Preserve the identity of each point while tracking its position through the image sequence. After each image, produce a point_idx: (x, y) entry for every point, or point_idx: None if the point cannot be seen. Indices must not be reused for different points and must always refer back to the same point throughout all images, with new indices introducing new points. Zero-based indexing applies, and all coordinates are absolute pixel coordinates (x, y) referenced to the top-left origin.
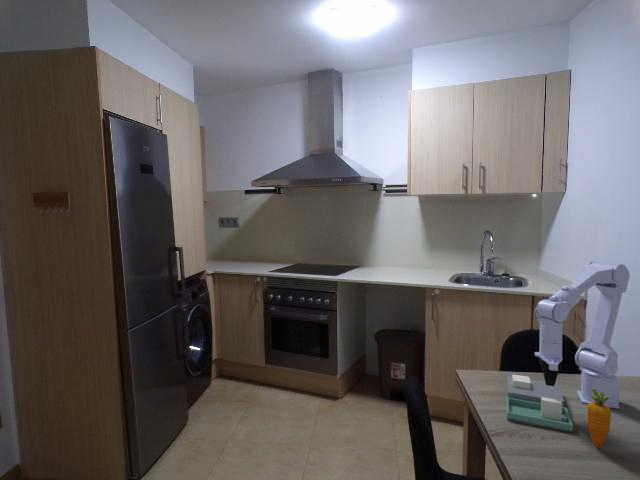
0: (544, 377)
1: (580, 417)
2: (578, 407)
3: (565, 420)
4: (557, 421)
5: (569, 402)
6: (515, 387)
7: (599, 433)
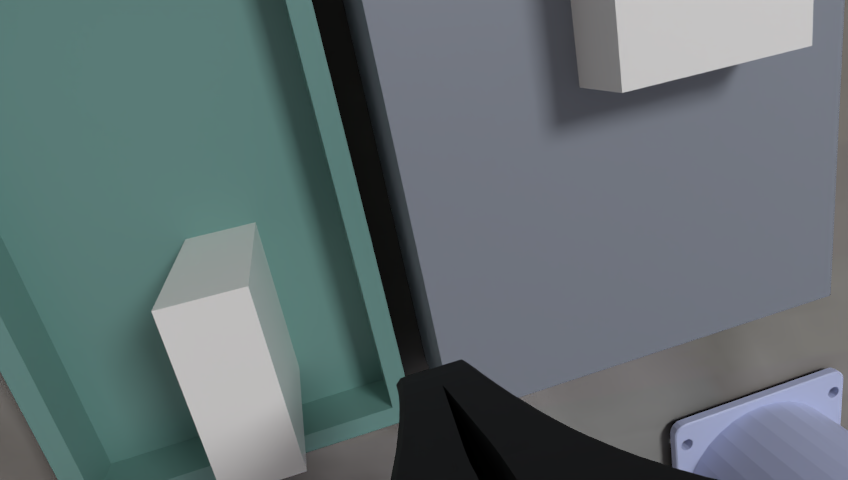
0: (415, 436)
1: None
2: (585, 415)
3: None
4: (45, 419)
5: None
6: None
7: None
